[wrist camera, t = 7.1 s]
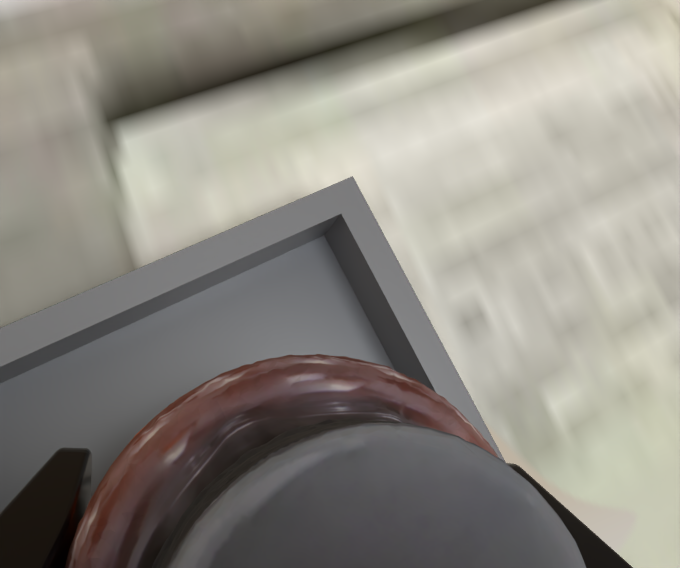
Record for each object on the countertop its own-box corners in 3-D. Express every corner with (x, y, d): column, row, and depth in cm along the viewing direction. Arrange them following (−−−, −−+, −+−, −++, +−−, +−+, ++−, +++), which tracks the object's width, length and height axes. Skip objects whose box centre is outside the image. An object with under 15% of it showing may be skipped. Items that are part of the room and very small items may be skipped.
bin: (115, 883, 15) (102, 987, 12) (-103, 403, 16) (-161, 397, 13) (522, 581, 19) (583, 607, 16) (327, 211, 20) (352, 176, 17)
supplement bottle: (378, 417, 17) (730, 376, 6) (343, 667, 15) (740, 1182, 5) (148, 374, 16) (106, 240, 5) (85, 643, 14) (-172, 1258, 4)
